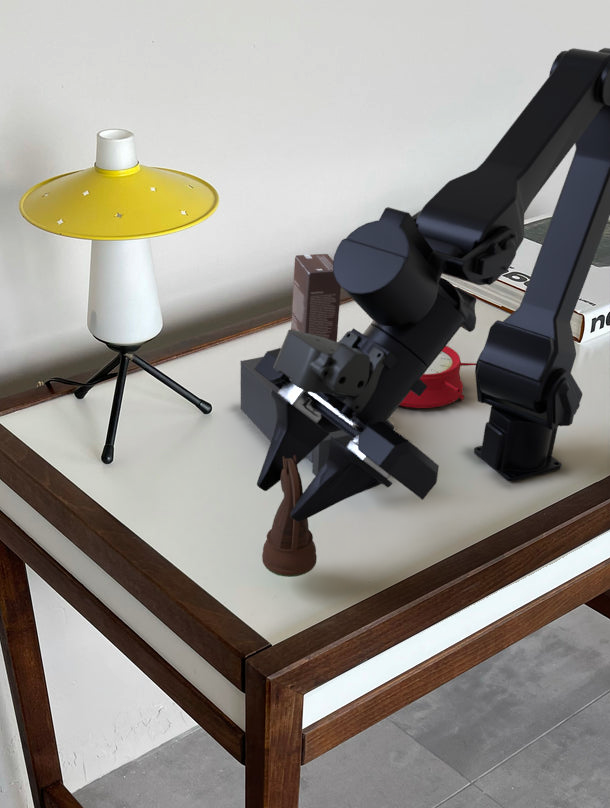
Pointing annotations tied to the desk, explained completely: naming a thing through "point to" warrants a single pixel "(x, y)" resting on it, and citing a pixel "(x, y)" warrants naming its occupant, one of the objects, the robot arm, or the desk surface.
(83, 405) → the desk surface
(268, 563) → the chess piece
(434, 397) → the alarm clock
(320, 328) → the box
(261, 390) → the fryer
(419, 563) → the desk surface
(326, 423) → the drawer
